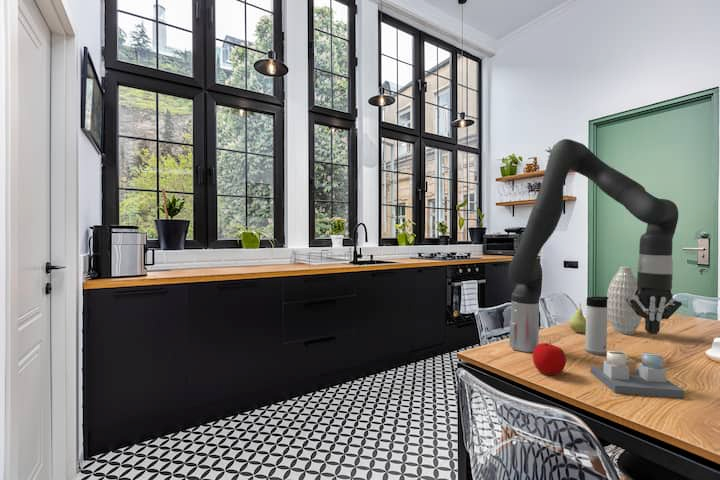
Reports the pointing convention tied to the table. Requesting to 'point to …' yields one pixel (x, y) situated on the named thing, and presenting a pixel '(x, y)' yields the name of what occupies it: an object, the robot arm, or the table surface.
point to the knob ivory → (616, 358)
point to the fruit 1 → (549, 359)
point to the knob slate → (652, 360)
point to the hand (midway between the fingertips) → (652, 333)
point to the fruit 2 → (578, 322)
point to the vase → (622, 302)
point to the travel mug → (596, 325)
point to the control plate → (637, 381)
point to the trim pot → (631, 365)
